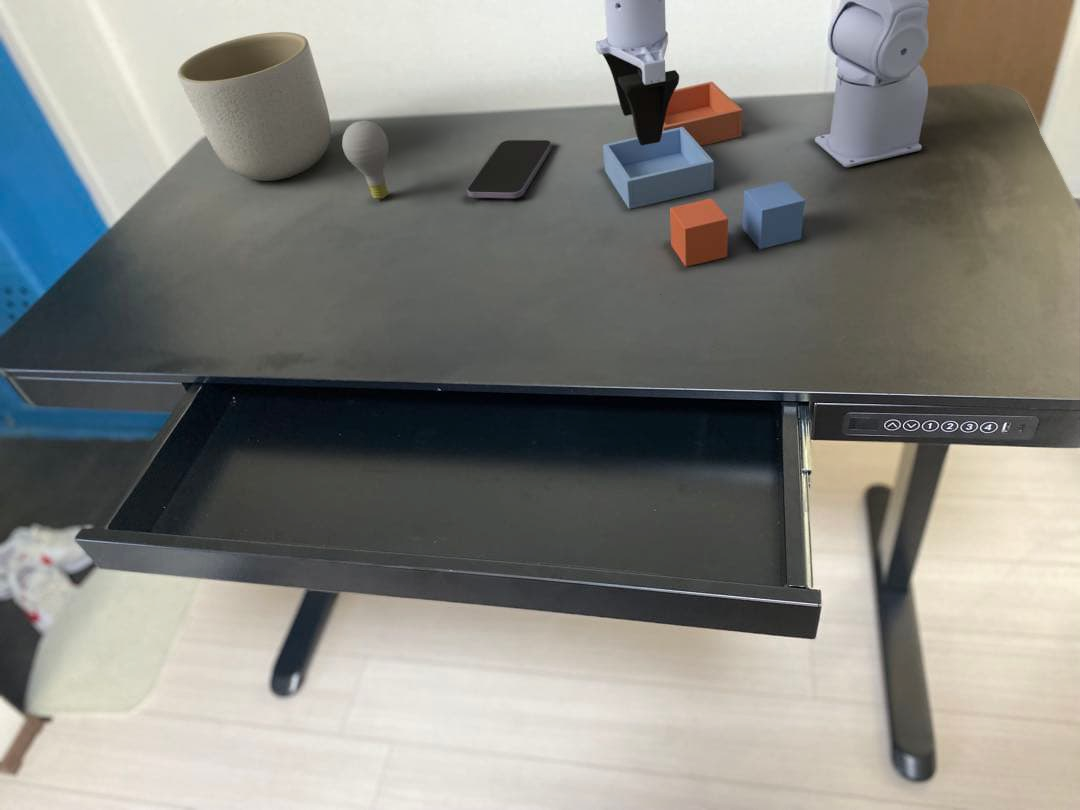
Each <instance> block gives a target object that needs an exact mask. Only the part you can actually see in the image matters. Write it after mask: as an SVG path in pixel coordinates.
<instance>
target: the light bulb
mask: <svg viewBox="0 0 1080 810" xmlns="http://www.w3.org/2000/svg"><path fill="white" fill-rule="evenodd" d="M341 143H342V144H341V147H342V150H343V153H344V156H345V157H346V158H347V160H348V161H349V162H350V163H351V164H352V165H353V166H354V167H355V168H356V169H357V170H358V171H359V172H360V173H361V174H362V175H364V177H365V180H366V183H367V185H368V187H369V189H370V193H371V197H372V198H373V199H376V200H380V201H381V200H384V198H385V197H386V196H387V195H388V193H389V191H388V188H387V184H386V177H385V174H384V168H385V164H386V161H387V157H388V153H389V141H388V137H387V135H386V132H385V131H384V129H382V127H381V126H379V125H378V124H377V123H374V122H373V121H369V120H358V121H356V122H353V123H352V124H350V125H349V126H348V127H346V129H345V131H344V133H343V135H342V141H341Z"/></svg>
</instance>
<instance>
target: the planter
mask: <svg viewBox="0 0 1080 810" xmlns="http://www.w3.org/2000/svg"><path fill="white" fill-rule="evenodd" d="M177 76H178V79H179V81H180V83H181V86H182V88H183V90H184V93H185V94H186V97H187V99H188V101H189V103H190V105H191V107H192V109H193V112H194V114H195V116H196V118H197V120H198V122H199V124H200V126H201V128H202V130H203V132H204V134H205V136H206V138H207V140H208V142H209V143H210V145H211V146H210V147H212V149H213V151H214V153H215V154H216V155H217V157H218V159H219V160H220V161H221V163H223V165H225V166H226V167H227V168H228V169H229V170H231V172H233V173H235V174H236V175H239V176H240V177H244V178H247V179H250V180H254V181H260V182H272V181H278V180H279V181H280V180H284V179H288V178H291V177H295V176H296V175H299V174H301V173H304V172H306V171H307V170H309V169H311V167H313V166H314V165H315V164H317V163H318V161H320V159H321V158H322V157H323V155H324V154H325V152H326V151H327V149H328V147H329V144H330V141H331V135H332V127H331V119H330V113H329V108H328V104H327V101H326V98H325V94H324V90H323V86H322V84H321V80H320V77H319V73H318V69H317V65H316V63H315V59H314V56H313V52H312V50H311V46H310V44H309V41H308V39H307V38H306V37H305V36H304V35H302V34H299V33H295V32H290V31H289V32H288V31H275V32H274V31H272V32H263V33H257V34H252V35H246V36H241V37H237V38H234V39H231V40H226V41H224V42H221V43H218V44H215V45H213V46H211V47H207V48H206V49H204V50H201V51H200V52H198V53H195V54H194V55H192V56H190V57H189V58H188V59H186V60H185V61H184V62H183V63H182V64H181V65H180V67H179V68H178V70H177Z"/></svg>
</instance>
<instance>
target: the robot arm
mask: <svg viewBox="0 0 1080 810" xmlns="http://www.w3.org/2000/svg"><path fill="white" fill-rule="evenodd" d="M929 8H930V2H929V0H840V2H839V5H838V8H837V10H836V12H835V14H834V16H833V18H832V20H831V22H830V24H829V27H828V31H827V43H828V47H829V49H830V51H831V52H832V53H833V55H835V56H836V57H835V67H836V68H837V71H836V72H837V73H836V79H835V88H834V89H835V90H834V99H833V106H832V115H831V124H830V132H829V133H826V134H822V135H817V136H815V137H814V143H816V144H817V145H818V146H820V147H821V148H822V149H823V150H824V151H825V152H827V153H828V154H829V155H830V156H831V157H832V158H834V159H835V160H836V161H837V162H838V163H839V164H840V165H842V166H843V167H844V168H851V167H855V166H860V165H864V164H868V163H873V162H877V161H881V160H885V159H890V158H894V157H898V156H902V155H907V154H911V153H915V152H919V151H922V148H923V145H922V144H920V143H919V142H920V137H921V131H922V127H923V121H924V118H925V117H924V116H925V111H926V106H927V102H928V97H929V84H928V78H927V74H926V72H925V70H924V68H923V67H922V66H921V65H920V63H921V62H922V61H923V58H924V57H925V54H926V52H927V50H928V46H929V40H930V39H929V38H930V37H929V36H930V34H929V30H928V25H927V18H928V13H929ZM604 12H605V27H606V28H605V29H606V38H605V39H600V40H597V41H595V44H594V45H595V51H596V52H597V53H598V55H602V56H603V58H604V60H605V61H606V63H607V65H608V68H609V70H610V73H611V76H612V78H613V82H614V86H615V89H616V94H617V99H618V101H619V105H620V109H621V111H622V113H623V116H624V117H627V116H632V121H633V127H634V130H635V134H636V137H637V138H638V141H639V143H640V145H647V144H652V143H657V142H660V140H661V136H662V132H663V126H664V121H665V116H666V111H667V108H668V104H669V101H670V99H671V96H672V94H673V92H674V90H676V89H677V87H678V86H679V82H680V74H679V73H678V72H677V70H676V69H673V70H667V71H666V60H665V56H666V53H667V52H666V51H667V48H668V43H669V33H668V31H667V26H666V24H667V22H666V0H604Z"/></svg>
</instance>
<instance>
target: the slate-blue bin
mask: <svg viewBox="0 0 1080 810" xmlns="http://www.w3.org/2000/svg"><path fill="white" fill-rule="evenodd" d="M602 150H603V162H604V163H603V164H604V172H605V173H606V175H607V177H608V179H609V180H610V182H611V183H612V185H613V186H614V188H615V189H616V191H617V192H618V194H619V196H620V197H621V198H622V200H623V202H624V203H625V205H626V207H627V208H628V210H632V209H635V208H639V207H645V206H648V205H652V204H657V203H662V202H666V201H669V200H674V199H678V198H683V197H688V196H691V195H695V194H699V193H705V192H709V191H712V190H714V189H715V188H714V184H715V183H714V179H715V178H714V177H715V175H714V174H715V173H714V172H715V171H714V170H715V161H714V160H713V159H712V157H711V156H710V155H709V154H708V153H707V152H706V151H705V150H704V148H703V147H702V146H700V145H699V144H698V143H697V142H696V141H695V140H694V139H693V137H692V136H691V135H690V134H689V133H688V132H687V131H686V129H685V128H684V127H679V128H674V129H670V130H666V131H663V132H662V136H661V140H660V142H657V143H652V144H647V145H640V143H639V141H638V138H637V136H635V137H631V138H626V139H623V140H618V141H614V142H609V143H605V144H602Z"/></svg>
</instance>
